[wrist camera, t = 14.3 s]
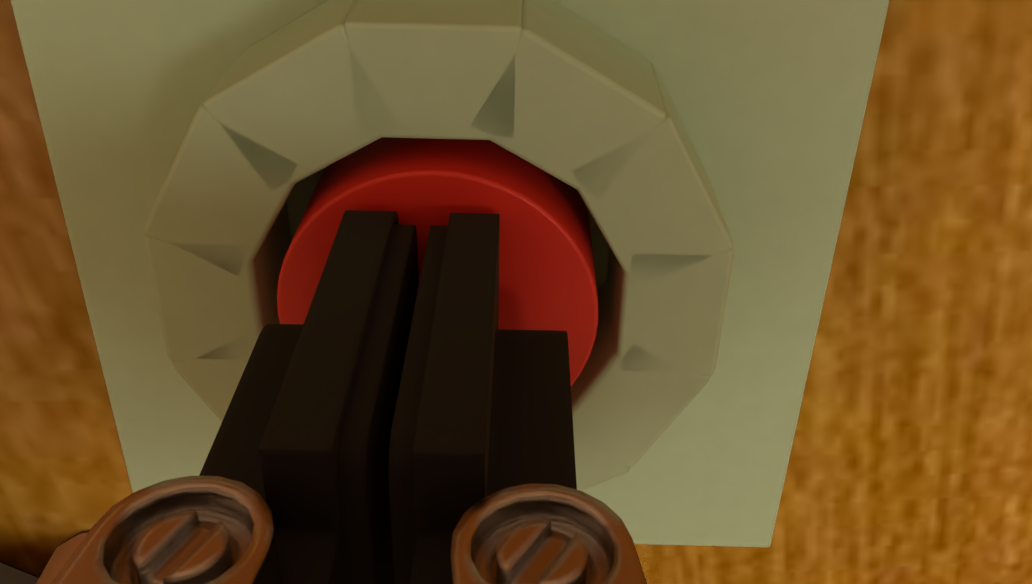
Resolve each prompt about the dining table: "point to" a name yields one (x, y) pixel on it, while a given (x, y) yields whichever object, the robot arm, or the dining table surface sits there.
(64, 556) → the alarm clock
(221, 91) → the button block
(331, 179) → the red button
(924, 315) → the dining table surface
